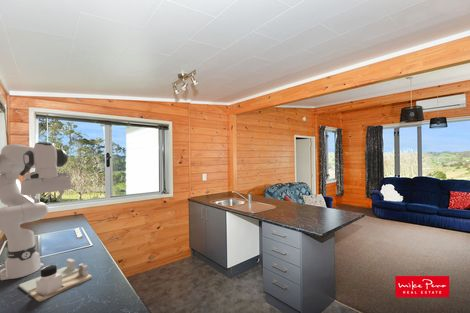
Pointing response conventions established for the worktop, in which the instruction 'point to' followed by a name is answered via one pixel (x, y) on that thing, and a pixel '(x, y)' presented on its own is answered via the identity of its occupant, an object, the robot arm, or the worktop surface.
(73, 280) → the birch strip
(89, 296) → the worktop surface
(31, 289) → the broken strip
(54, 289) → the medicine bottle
